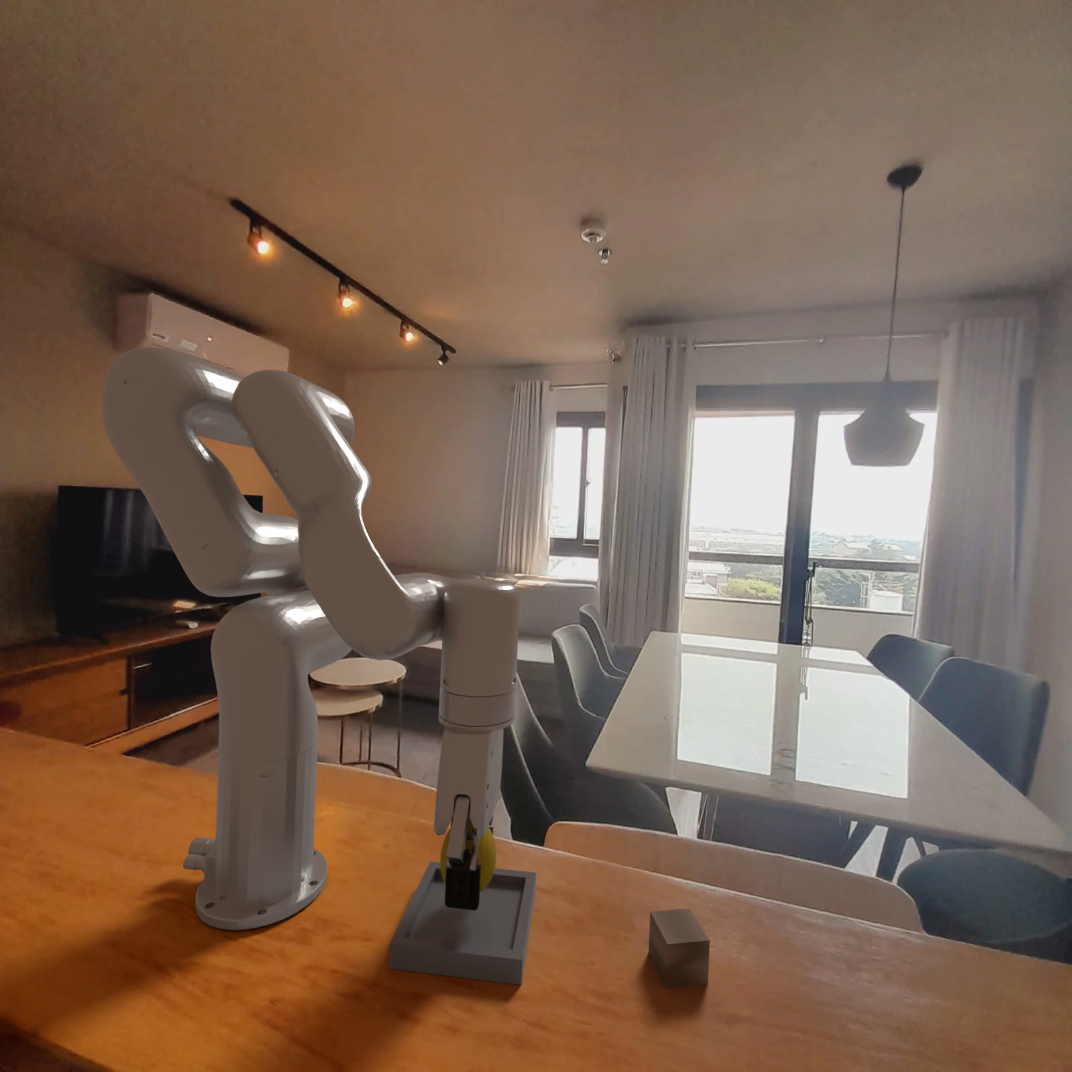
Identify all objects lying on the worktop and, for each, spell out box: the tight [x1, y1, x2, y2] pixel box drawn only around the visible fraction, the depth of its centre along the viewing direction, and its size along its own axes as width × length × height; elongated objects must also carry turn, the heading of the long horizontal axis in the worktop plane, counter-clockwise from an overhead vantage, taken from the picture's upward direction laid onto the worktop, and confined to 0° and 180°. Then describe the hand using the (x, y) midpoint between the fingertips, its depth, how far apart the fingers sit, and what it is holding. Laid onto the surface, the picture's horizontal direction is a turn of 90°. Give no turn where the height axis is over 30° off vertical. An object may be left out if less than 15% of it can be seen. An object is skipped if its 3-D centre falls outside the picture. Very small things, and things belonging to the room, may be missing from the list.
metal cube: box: [648, 908, 711, 989], centre depth 49 cm, size 4×4×4 cm
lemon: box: [439, 824, 497, 892], centre depth 53 cm, size 6×6×8 cm
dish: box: [388, 861, 537, 986], centre depth 53 cm, size 12×12×2 cm
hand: (469, 882), depth 53 cm, fingers closed on lemon, 5 cm apart
